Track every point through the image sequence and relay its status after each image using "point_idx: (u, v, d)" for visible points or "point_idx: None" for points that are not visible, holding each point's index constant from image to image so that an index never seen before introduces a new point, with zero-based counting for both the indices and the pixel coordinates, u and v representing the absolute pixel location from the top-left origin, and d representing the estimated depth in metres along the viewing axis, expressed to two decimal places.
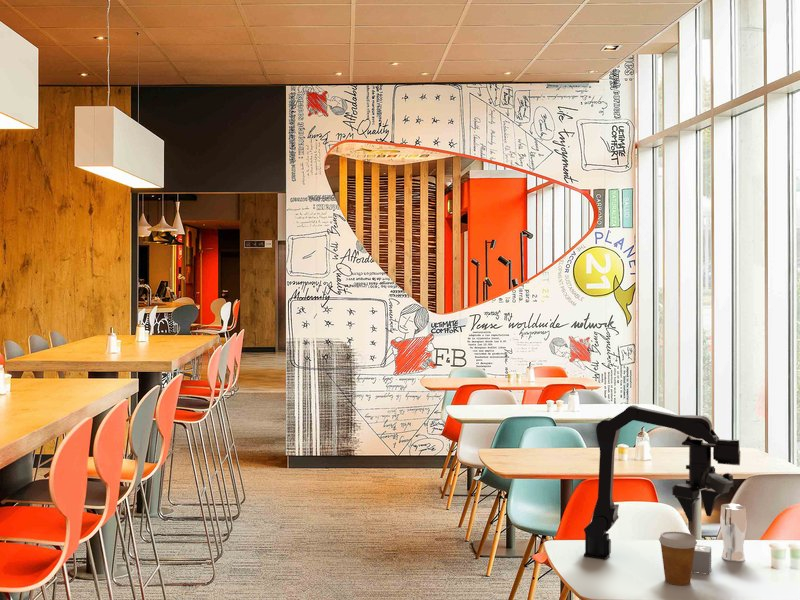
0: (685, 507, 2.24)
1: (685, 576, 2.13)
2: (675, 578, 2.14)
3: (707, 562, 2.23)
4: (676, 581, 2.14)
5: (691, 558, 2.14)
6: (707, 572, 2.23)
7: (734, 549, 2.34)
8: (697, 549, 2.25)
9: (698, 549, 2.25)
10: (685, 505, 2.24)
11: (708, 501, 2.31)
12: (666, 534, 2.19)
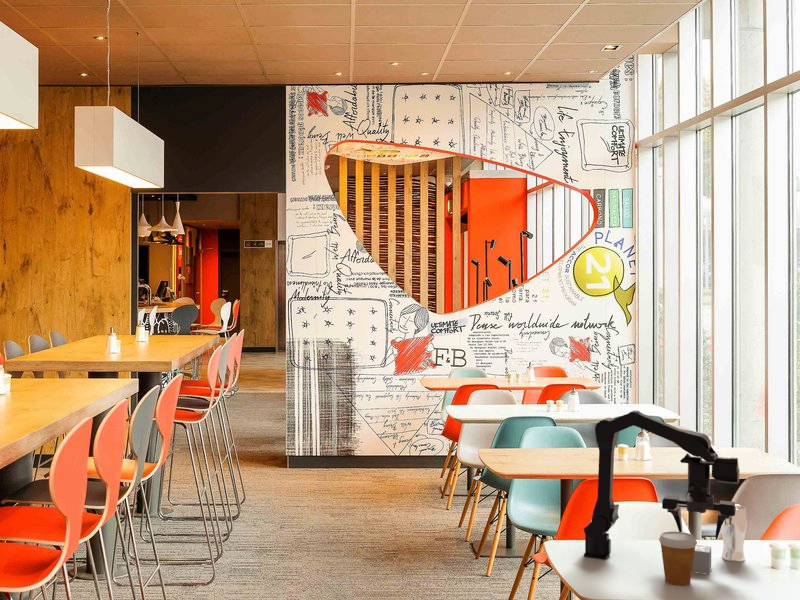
0: None
1: (685, 576, 2.13)
2: (675, 578, 2.14)
3: (707, 562, 2.23)
4: (676, 581, 2.14)
5: (691, 558, 2.14)
6: (707, 572, 2.23)
7: (734, 549, 2.34)
8: (697, 549, 2.25)
9: (698, 549, 2.25)
10: None
11: None
12: (666, 534, 2.19)
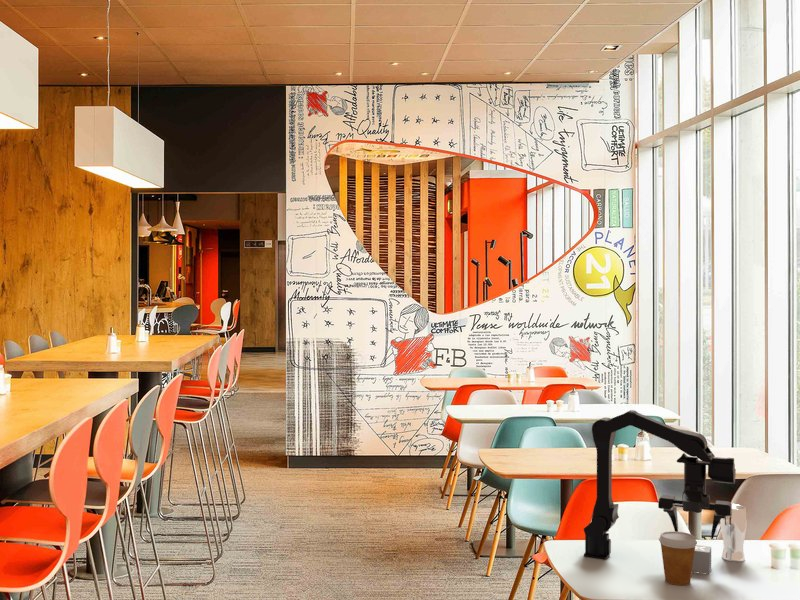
0: None
1: (685, 576, 2.13)
2: (675, 578, 2.14)
3: (707, 562, 2.23)
4: (676, 581, 2.14)
5: (691, 558, 2.14)
6: (707, 572, 2.23)
7: (734, 549, 2.34)
8: (697, 549, 2.25)
9: (698, 549, 2.25)
10: None
11: None
12: (666, 534, 2.19)
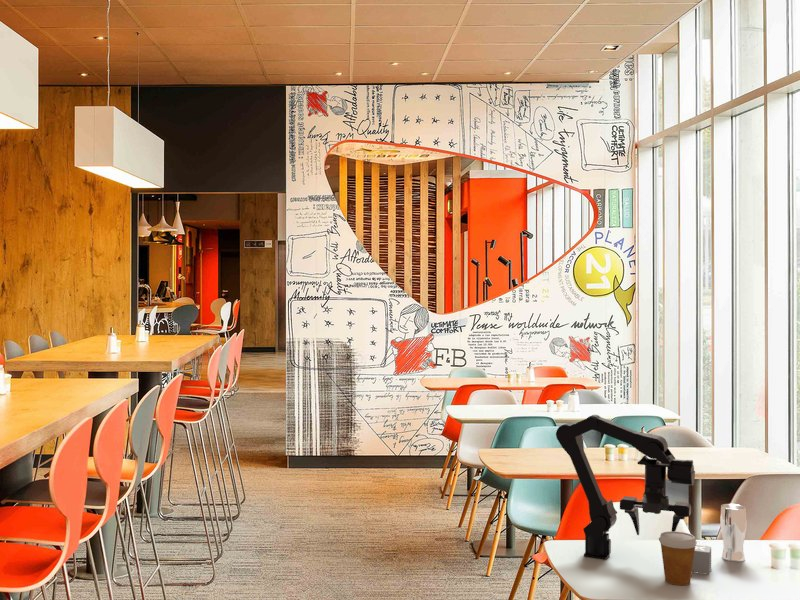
0: None
1: (685, 576, 2.13)
2: (675, 578, 2.14)
3: (707, 562, 2.23)
4: (676, 581, 2.14)
5: (691, 558, 2.14)
6: (707, 572, 2.23)
7: (734, 549, 2.34)
8: (697, 549, 2.25)
9: (698, 549, 2.25)
10: None
11: None
12: (666, 534, 2.19)
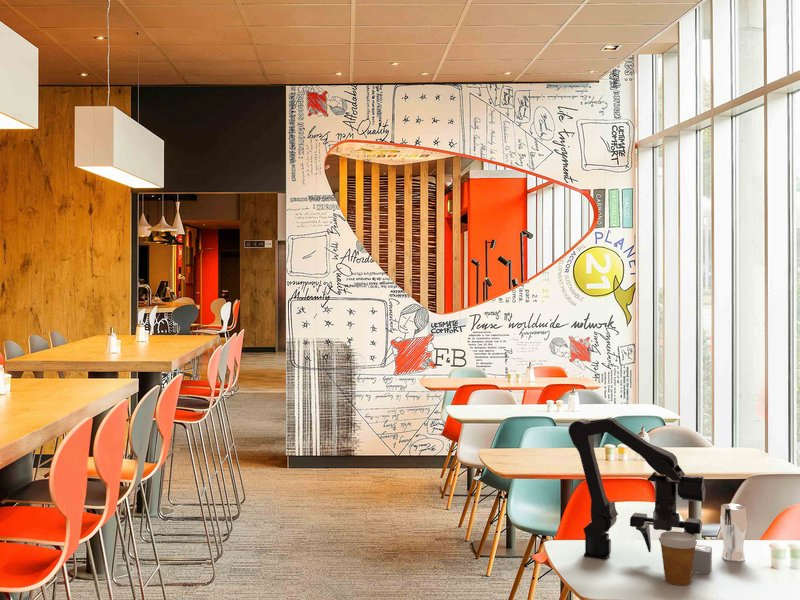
0: None
1: (685, 576, 2.13)
2: (675, 578, 2.14)
3: (707, 562, 2.23)
4: (676, 581, 2.14)
5: (691, 558, 2.14)
6: (707, 572, 2.23)
7: (734, 549, 2.34)
8: (697, 549, 2.25)
9: (698, 549, 2.25)
10: None
11: None
12: (666, 534, 2.19)
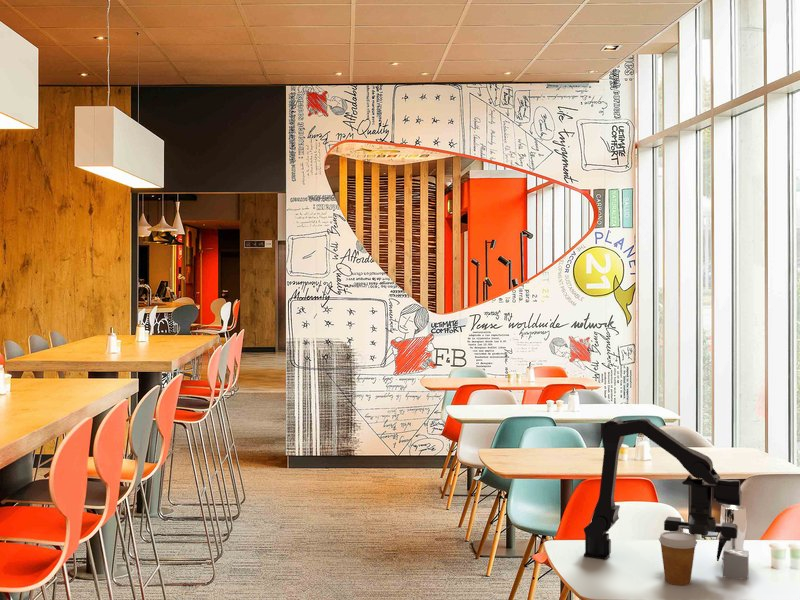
0: None
1: (685, 576, 2.13)
2: (675, 578, 2.14)
3: (745, 567, 2.19)
4: (676, 581, 2.14)
5: (691, 558, 2.14)
6: (745, 577, 2.19)
7: None
8: (735, 553, 2.21)
9: (736, 553, 2.21)
10: None
11: None
12: (666, 534, 2.19)
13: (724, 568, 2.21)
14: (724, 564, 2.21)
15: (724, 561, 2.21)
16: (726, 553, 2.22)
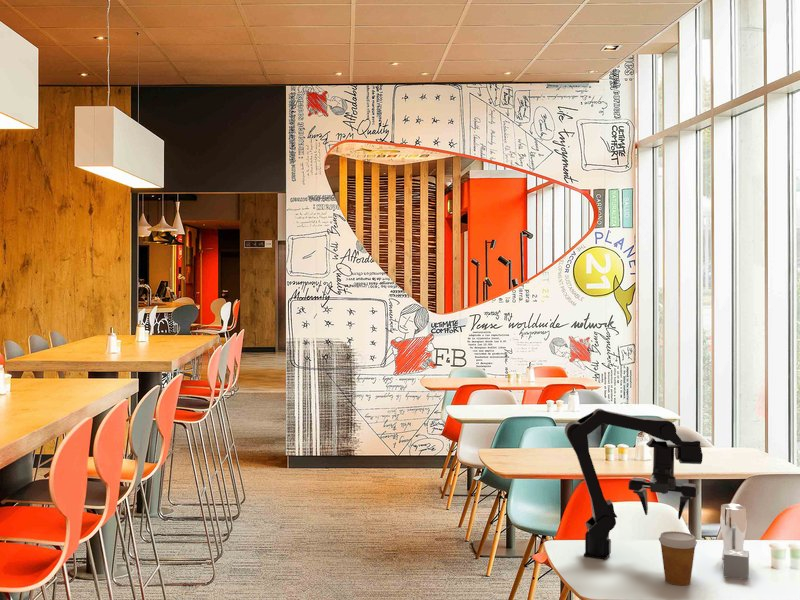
0: None
1: (685, 576, 2.13)
2: (675, 578, 2.14)
3: (745, 567, 2.19)
4: (676, 581, 2.14)
5: (691, 558, 2.14)
6: (745, 577, 2.19)
7: (734, 549, 2.34)
8: (735, 554, 2.21)
9: (736, 554, 2.21)
10: None
11: None
12: (666, 534, 2.19)
13: (724, 568, 2.21)
14: (724, 564, 2.21)
15: (724, 561, 2.21)
16: (726, 553, 2.22)
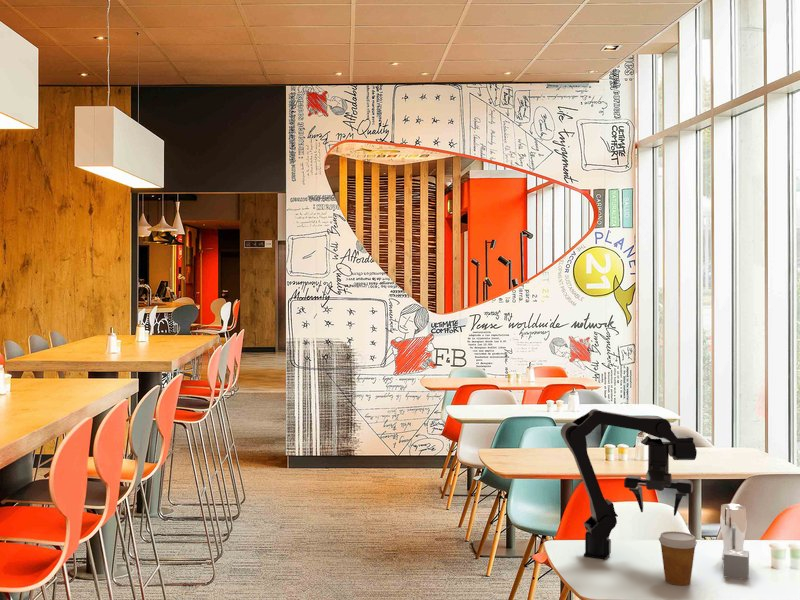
0: None
1: (685, 576, 2.13)
2: (675, 578, 2.14)
3: (745, 567, 2.19)
4: (676, 581, 2.14)
5: (691, 558, 2.14)
6: (745, 577, 2.19)
7: (734, 549, 2.34)
8: (735, 554, 2.21)
9: (736, 554, 2.21)
10: None
11: None
12: (666, 534, 2.19)
13: (724, 568, 2.21)
14: (724, 564, 2.21)
15: (724, 561, 2.21)
16: (726, 553, 2.22)
